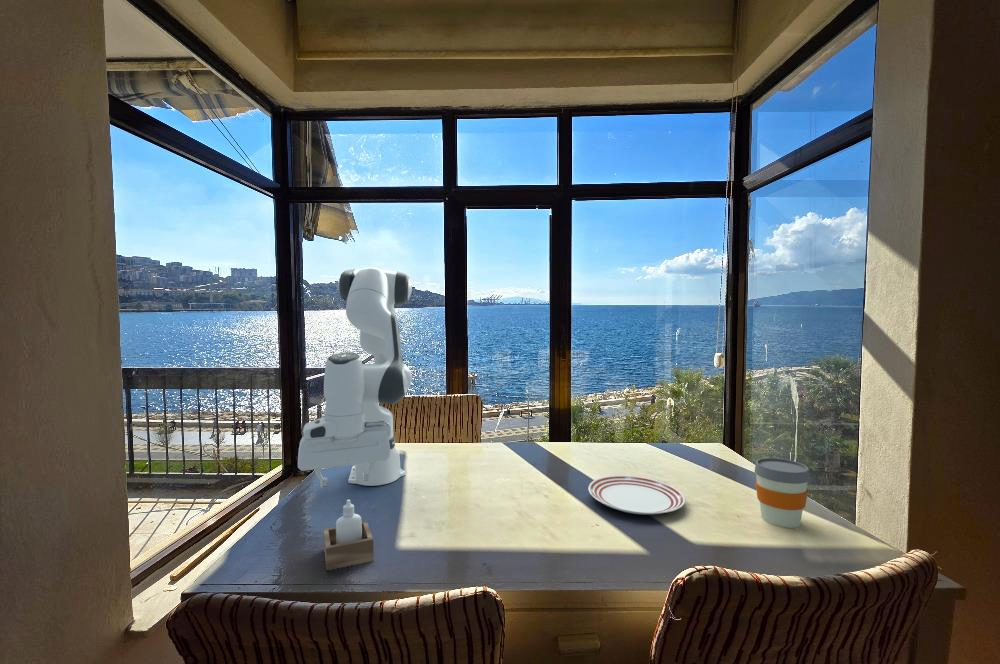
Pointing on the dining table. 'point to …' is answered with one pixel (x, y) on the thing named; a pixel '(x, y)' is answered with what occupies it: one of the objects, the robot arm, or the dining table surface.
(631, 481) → the dinner plate
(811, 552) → the dining table surface
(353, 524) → the eye dropper bottle
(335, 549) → the small open wooden box
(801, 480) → the reusable coffee cup
